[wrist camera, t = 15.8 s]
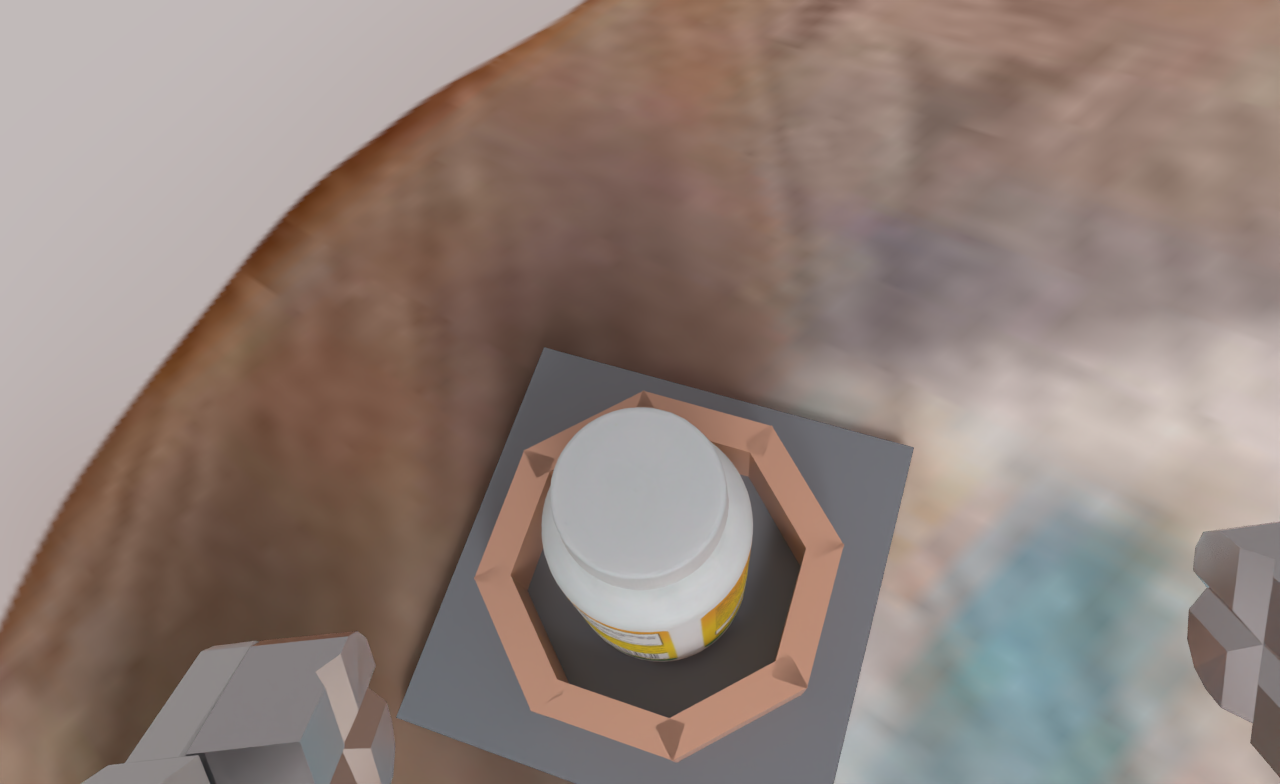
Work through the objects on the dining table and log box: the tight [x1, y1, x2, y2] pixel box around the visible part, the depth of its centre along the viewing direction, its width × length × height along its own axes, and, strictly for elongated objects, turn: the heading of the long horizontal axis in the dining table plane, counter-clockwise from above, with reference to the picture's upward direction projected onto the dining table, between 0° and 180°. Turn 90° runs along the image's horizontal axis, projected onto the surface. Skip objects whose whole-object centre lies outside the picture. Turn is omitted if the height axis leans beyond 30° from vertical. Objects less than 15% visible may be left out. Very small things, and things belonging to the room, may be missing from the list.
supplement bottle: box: [541, 407, 753, 662], centre depth 25 cm, size 5×5×10 cm
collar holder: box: [396, 347, 914, 784], centre depth 29 cm, size 13×13×4 cm
